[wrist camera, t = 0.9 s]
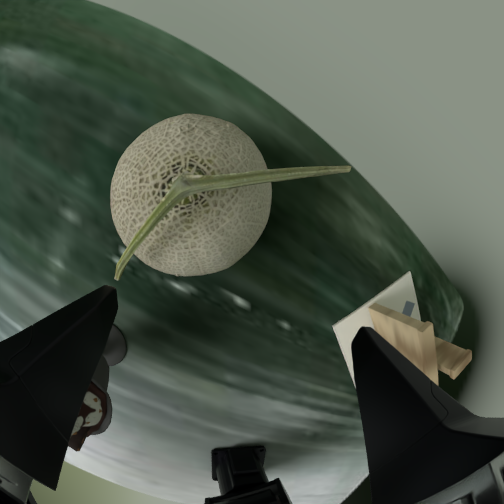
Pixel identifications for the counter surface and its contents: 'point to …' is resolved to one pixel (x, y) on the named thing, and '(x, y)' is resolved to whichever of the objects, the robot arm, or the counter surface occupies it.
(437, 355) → the wooden plank
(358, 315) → the card
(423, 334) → the fence panel
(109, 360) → the sundae
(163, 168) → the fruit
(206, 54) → the counter surface
